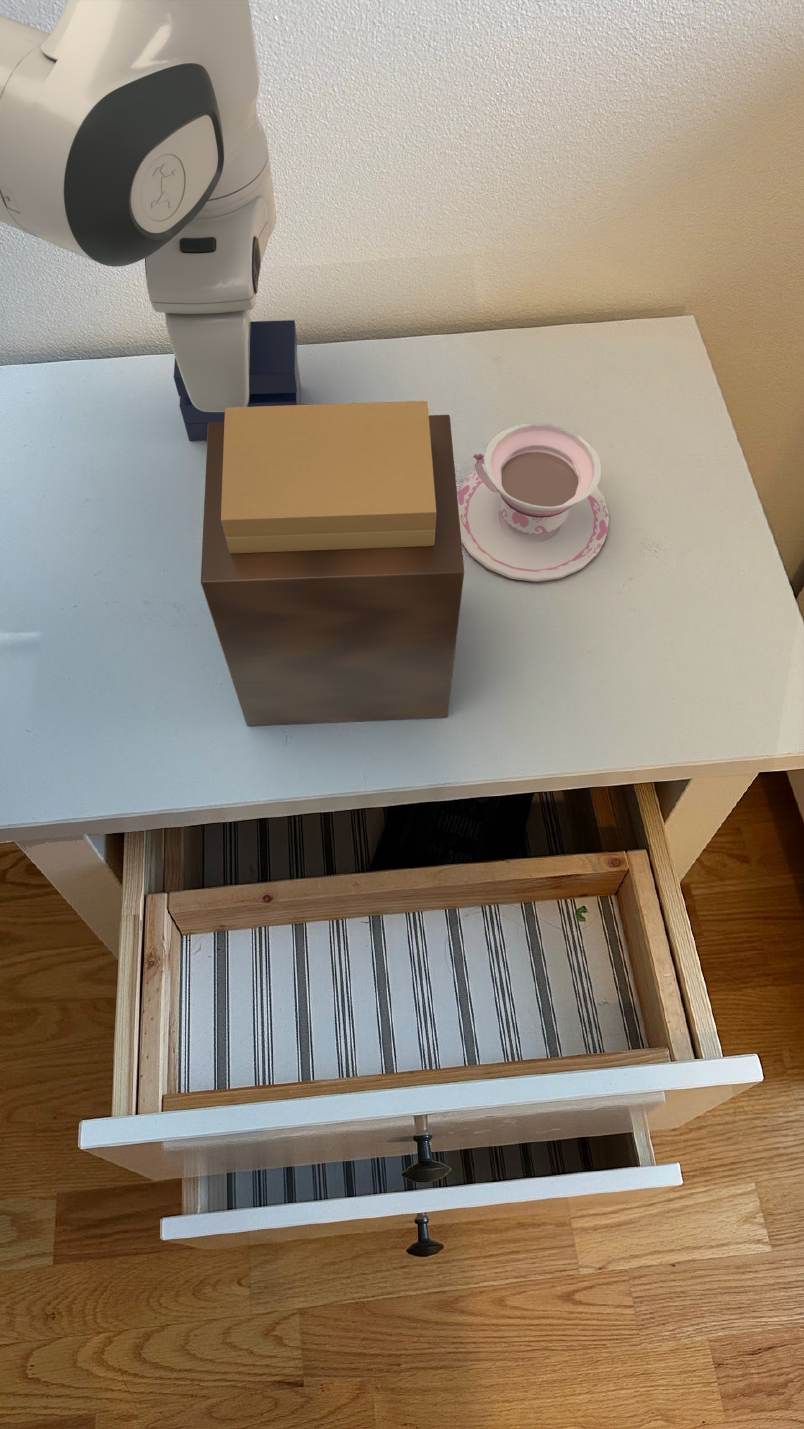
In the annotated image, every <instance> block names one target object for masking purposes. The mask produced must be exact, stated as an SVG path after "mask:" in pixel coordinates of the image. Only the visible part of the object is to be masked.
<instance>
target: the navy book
mask: <svg viewBox="0 0 804 1429" xmlns="http://www.w3.org/2000/svg"><path fill="white" fill-rule="evenodd" d="M296 326H297V325H296V321H295V320H294V319H291V320H290V319H289V320H286V319H285V320H257V321H251V322H250V363H249V394H270V393H297V359H298V336H297V328H296ZM173 366H174V367H173V380H174V384H175V387H176V391H177V394H178V397H180V396H189V395H188V393H187V390H186V387H185V384H184V382H183V379H182V376H181V373H180V370H179V367H178V364H177V361H176V358H175V357H174V364H173Z"/></svg>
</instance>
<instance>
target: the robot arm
mask: <svg viewBox="0 0 804 1429" xmlns="http://www.w3.org/2000/svg"><path fill="white" fill-rule="evenodd" d="M251 13H252V12H251V7H250V2H249V0H66V2H65V5H64V8H63V11H62V12H61V14H60V16H59V19H58V21H57V23H56V24H55V26H54V28H52V31H51V32H47V31H45V30H42V29H39V28H37V27H34V26H32V25H30V24H26V23H25V22H21V21H19V20H16V19H14V18H11V17H9V16H6V15H4V14H1V13H0V222H1V223H4V224H6V225H8V226H9V227H13V228H15V229H17V230H19V231H21V232H24V233H26V234H28V235H30V236H32V237H34V238H38V239H41V240H42V241H45V242H47V243H49V244H52V245H54V246H57V247H59V248H61V249H63V250H66V251H68V252H71V253H73V254H74V255H78V256H79V257H82V258H84V259H87V260H90V261H93V262H96V263H98V264H100V265H104V266H106V267H115V268H116V267H118V268H120V267H127V266H129V265H132V264H135V263H138V262H140V261H142V260H144V268H145V269H144V271H145V272H144V273H145V279H146V290H147V294H148V299H149V302H150V305H151V308H152V310H153V311H154V312H155V313H160V314H161V313H163V314H164V318H165V319H164V320H165V324H166V329H167V335H168V338H169V342H170V345H171V349H172V352H173V355H174V359H175V358H176V361H177V364H178V367H179V370H180V373H181V376H182V379H183V382H184V384H185V387H186V390H187V393H188V395H189V398H190V400H191V402H192V404H193V405H194V406H195V407H196V408H197V409H199V410H200V411H204V412H225V408H227V407H247V406H248V403H249V363H250V322H252V321H251V320H252V319H251V315H252V314H251V313H252V310H253V309H254V308H255V307H256V304H257V303H256V302H257V294H258V290H259V281H260V280H259V278H260V272H261V267H262V262H263V259H264V256H265V253H266V249H267V247H268V242H269V239H270V237H271V236H272V234H273V232H274V230H275V227H276V223H277V206H276V199H275V190H274V184H273V183H274V182H273V175H272V167H271V159H270V152H269V151H270V150H269V143H268V139H267V135H266V131H265V129H264V125H263V124H262V122H261V120H260V117H259V113H258V108H257V104H258V95H259V89H260V70H259V63H258V54H257V46H256V38H255V32H254V24H253V20H252V14H251Z"/></svg>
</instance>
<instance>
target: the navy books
mask: <svg viewBox="0 0 804 1429" xmlns="http://www.w3.org/2000/svg"><path fill="white" fill-rule="evenodd" d="M299 368H300V367H299V359H298V358H297V393H270V394H249V403H248V406H247V407H257V406H288V405H302V396H301V395H302V390H301V389H302V385H301V377H300V369H299ZM179 409H180V412H181V416H182V420H183V423H184V427H185V431H186V434H187V438H188V441H189V442H197V441H198V442H199V441H203V442H204V441H207V433H208V423H216V422H224V420H225V412H204V411H200V410H199V409H197V408H196V407H195V406H194V405H193V404H192V402H191V400H190V398H189V396H179Z"/></svg>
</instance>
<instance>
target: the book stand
mask: <svg viewBox="0 0 804 1429" xmlns="http://www.w3.org/2000/svg"><path fill="white" fill-rule="evenodd" d="M429 426H430V438H431V451H432V463H433V476H434V488H435V500H436V527H435V542H434V546H420V547H393V548H366V549H339V550H313V551H286V552H259V553H232V554H231V553H230V552H229V549H228V545H227V541H226V537H225V534H224V530H223V526H222V522H221V502H222V474H223V447H224V422H216V423H208V433H207V440H206V454H205V455H206V460H205V477H204V478H205V480H204V498H203V499H204V500H203V501H204V502H203V522H202V523H203V525H202V527H203V528H202V544H201V567H200V569H201V570H200V585H201V588H202V592H203V594H204V598H205V600H206V603H207V607H208V610H209V613H210V615H211V619H212V622H213V625H214V628H215V631H216V634H217V638H218V640H219V644H220V647H221V650H222V654H223V656H224V659H225V663H226V665H227V669H228V672H229V675H230V678H231V682H232V685H233V688H234V690H235V693H236V696H237V700H238V703H239V706H240V710H241V712H242V715H243V719H244V721H245V725H246V726H247V727H255V726H256V727H257V726H260V727H261V726H281V725H282V726H283V725H302V724H303V725H305V724H325V723H326V724H328V723H348V722H349V723H350V722H351V723H353V722H374V721H375V722H376V721H377V722H378V721H398V720H401V721H402V720H421V719H445V718H447V719H448V717H449V711H450V710H449V709H450V700H451V694H452V692H451V691H452V686H453V685H452V684H453V676H454V666H455V658H456V649H457V640H458V633H459V632H458V631H459V624H460V616H461V615H460V614H461V606H462V605H461V604H462V596H463V587H464V578H465V563H464V554H463V553H464V552H463V544H462V541H461V530H460V520H459V509H458V498H457V493H458V488H457V477H456V468H455V456H454V446H453V434H452V424H451V416H450V414H429Z"/></svg>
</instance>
